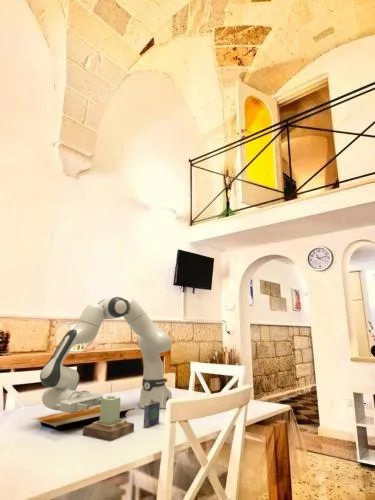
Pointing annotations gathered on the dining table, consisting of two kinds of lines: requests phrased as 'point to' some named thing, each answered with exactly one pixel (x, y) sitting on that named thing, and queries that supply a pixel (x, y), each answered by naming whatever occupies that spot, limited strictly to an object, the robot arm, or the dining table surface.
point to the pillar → (110, 410)
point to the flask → (151, 413)
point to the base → (108, 430)
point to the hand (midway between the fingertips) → (95, 405)
